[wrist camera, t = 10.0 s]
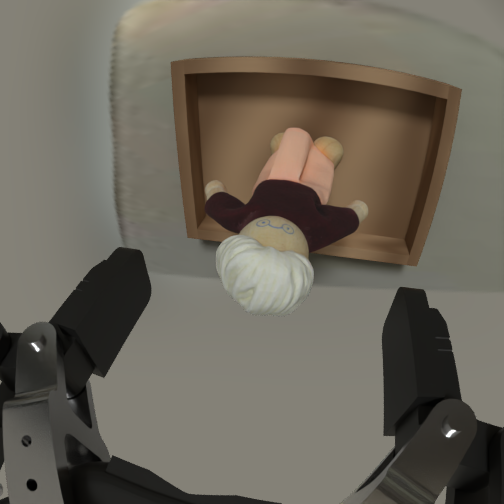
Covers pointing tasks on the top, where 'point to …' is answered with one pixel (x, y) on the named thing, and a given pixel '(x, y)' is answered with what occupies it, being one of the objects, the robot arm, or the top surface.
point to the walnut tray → (317, 125)
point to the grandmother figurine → (281, 224)
